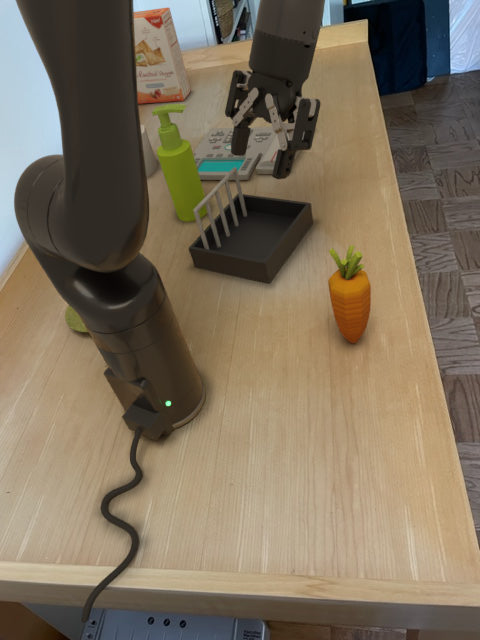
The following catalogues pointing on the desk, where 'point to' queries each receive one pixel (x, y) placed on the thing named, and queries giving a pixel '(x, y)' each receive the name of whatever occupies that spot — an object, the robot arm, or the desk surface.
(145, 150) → the toilet tissue
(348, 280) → the carrot
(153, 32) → the cracker box
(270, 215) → the drying rack
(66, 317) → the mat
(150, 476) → the desk surface
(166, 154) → the soap dispenser
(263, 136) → the office telephone
